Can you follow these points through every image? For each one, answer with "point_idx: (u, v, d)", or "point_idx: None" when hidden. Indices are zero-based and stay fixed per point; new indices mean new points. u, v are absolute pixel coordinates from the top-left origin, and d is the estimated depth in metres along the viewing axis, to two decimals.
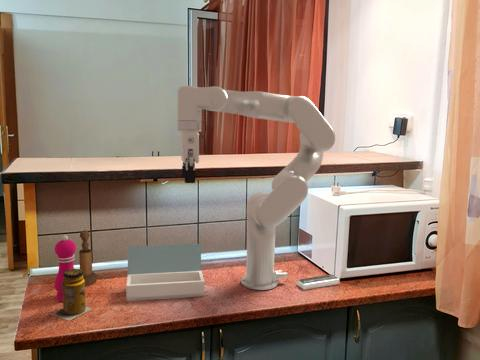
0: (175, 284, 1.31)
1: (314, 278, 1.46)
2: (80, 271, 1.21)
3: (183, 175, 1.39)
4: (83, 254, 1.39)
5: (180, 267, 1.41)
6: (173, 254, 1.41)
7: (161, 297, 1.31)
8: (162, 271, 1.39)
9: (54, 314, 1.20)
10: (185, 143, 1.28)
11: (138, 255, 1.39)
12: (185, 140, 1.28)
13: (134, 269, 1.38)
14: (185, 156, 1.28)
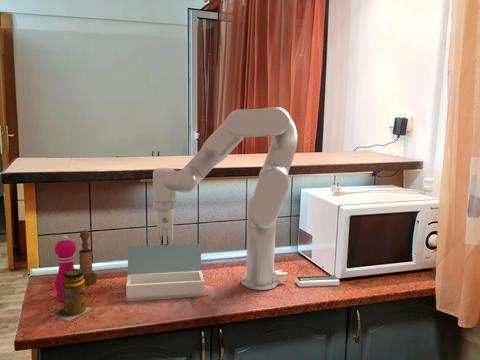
0: (175, 284, 1.31)
1: (313, 277, 1.47)
2: (80, 271, 1.21)
3: None
4: (83, 254, 1.39)
5: (180, 267, 1.41)
6: (173, 254, 1.41)
7: (161, 297, 1.31)
8: (162, 271, 1.39)
9: (54, 314, 1.20)
10: (160, 222, 1.38)
11: (138, 255, 1.39)
12: (160, 219, 1.38)
13: (134, 269, 1.38)
14: (160, 234, 1.38)
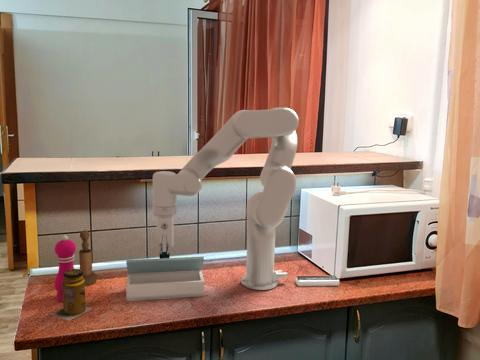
0: (175, 284, 1.31)
1: (313, 277, 1.47)
2: (80, 271, 1.21)
3: None
4: (83, 254, 1.39)
5: (180, 269, 1.39)
6: (174, 264, 1.36)
7: (161, 297, 1.31)
8: (162, 271, 1.39)
9: (54, 314, 1.20)
10: (159, 229, 1.31)
11: (137, 266, 1.33)
12: (159, 225, 1.31)
13: (134, 272, 1.36)
14: (159, 241, 1.31)
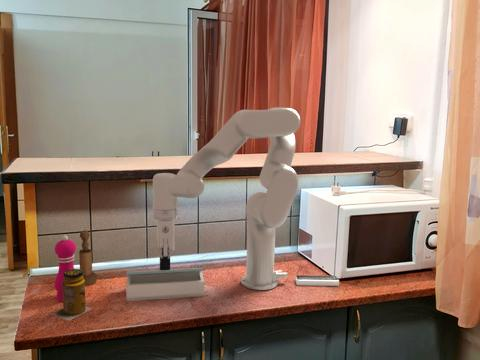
0: (175, 284, 1.31)
1: (313, 276, 1.47)
2: (80, 271, 1.21)
3: None
4: (83, 254, 1.39)
5: None
6: None
7: (161, 297, 1.31)
8: None
9: (54, 314, 1.20)
10: (160, 233, 1.27)
11: None
12: (160, 229, 1.27)
13: None
14: (160, 246, 1.27)
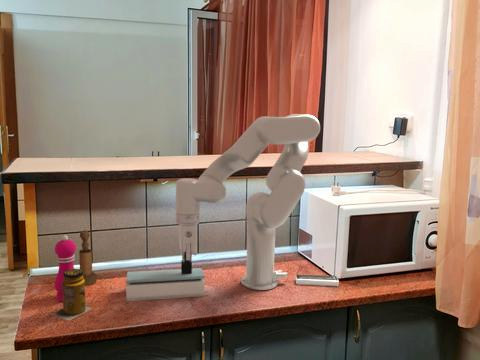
0: (175, 284, 1.31)
1: (313, 276, 1.48)
2: (80, 271, 1.21)
3: None
4: (83, 254, 1.39)
5: None
6: None
7: (161, 297, 1.31)
8: None
9: (54, 314, 1.20)
10: (183, 237, 1.29)
11: None
12: (183, 233, 1.29)
13: None
14: (183, 250, 1.29)
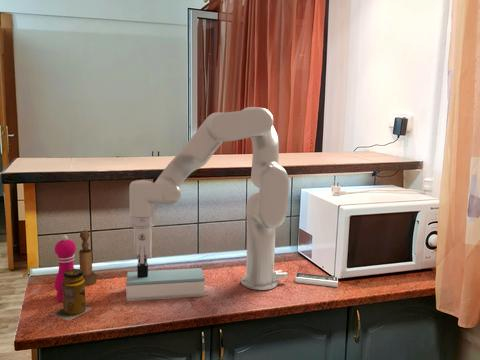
0: (175, 284, 1.31)
1: (313, 275, 1.48)
2: (80, 271, 1.21)
3: None
4: (83, 254, 1.39)
5: None
6: None
7: (161, 297, 1.31)
8: None
9: (54, 314, 1.20)
10: (136, 240, 1.26)
11: None
12: (136, 236, 1.27)
13: None
14: (137, 253, 1.27)
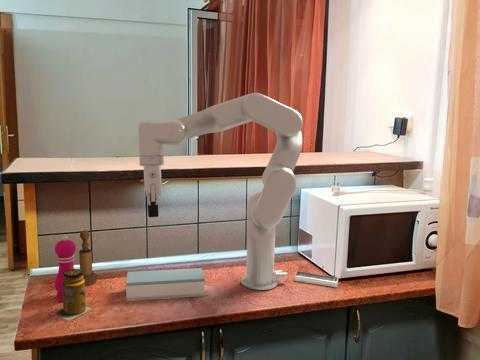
0: (175, 284, 1.31)
1: (314, 275, 1.49)
2: (80, 271, 1.21)
3: None
4: (83, 254, 1.39)
5: None
6: None
7: (161, 297, 1.31)
8: None
9: (54, 314, 1.20)
10: (147, 178, 1.30)
11: None
12: (147, 175, 1.30)
13: None
14: (148, 191, 1.30)
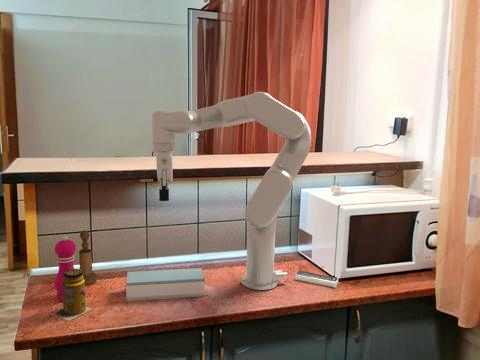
0: (175, 284, 1.31)
1: (314, 274, 1.49)
2: (80, 271, 1.21)
3: None
4: (83, 254, 1.39)
5: None
6: None
7: (161, 297, 1.31)
8: None
9: (54, 314, 1.20)
10: (159, 164, 1.39)
11: None
12: (159, 160, 1.39)
13: None
14: (159, 176, 1.39)
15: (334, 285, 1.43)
